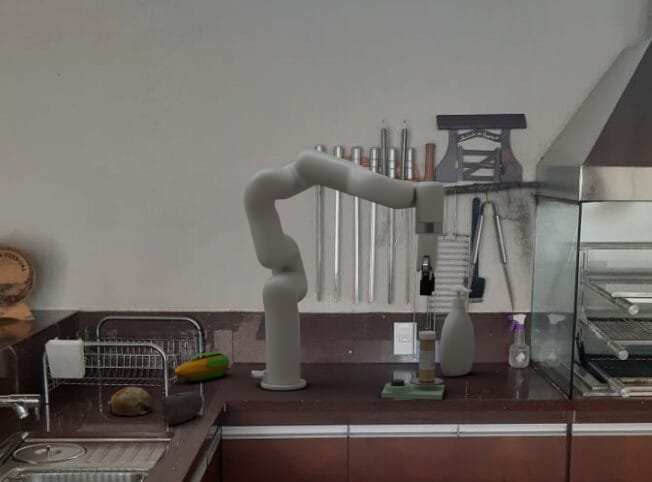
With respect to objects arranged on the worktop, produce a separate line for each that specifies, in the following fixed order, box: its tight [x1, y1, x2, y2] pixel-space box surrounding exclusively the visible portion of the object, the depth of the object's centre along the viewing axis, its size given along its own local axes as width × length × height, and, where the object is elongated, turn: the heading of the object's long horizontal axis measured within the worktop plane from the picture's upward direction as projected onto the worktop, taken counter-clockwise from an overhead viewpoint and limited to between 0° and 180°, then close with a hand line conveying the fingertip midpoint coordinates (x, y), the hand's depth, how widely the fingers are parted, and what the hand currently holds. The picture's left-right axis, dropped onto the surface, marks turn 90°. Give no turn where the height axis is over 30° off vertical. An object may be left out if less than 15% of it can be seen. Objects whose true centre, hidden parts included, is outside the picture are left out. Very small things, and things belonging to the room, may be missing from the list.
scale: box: [380, 382, 445, 401], centre depth 243 cm, size 16×12×3 cm
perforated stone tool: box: [159, 391, 204, 426], centre depth 213 cm, size 15×5×7 cm, turn 155°
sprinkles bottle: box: [418, 330, 437, 382], centre depth 243 cm, size 5×5×14 cm
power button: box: [390, 378, 405, 387], centre depth 241 cm, size 4×4×2 cm
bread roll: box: [107, 386, 154, 417], centre depth 221 cm, size 10×10×8 cm
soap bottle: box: [439, 284, 475, 378], centre depth 267 cm, size 14×8×27 cm, turn 137°
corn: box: [173, 351, 231, 382], centre depth 259 cm, size 7×8×20 cm
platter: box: [410, 377, 444, 386], centre depth 244 cm, size 9×9×1 cm
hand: (427, 293), depth 240 cm, fingers open, 9 cm apart
